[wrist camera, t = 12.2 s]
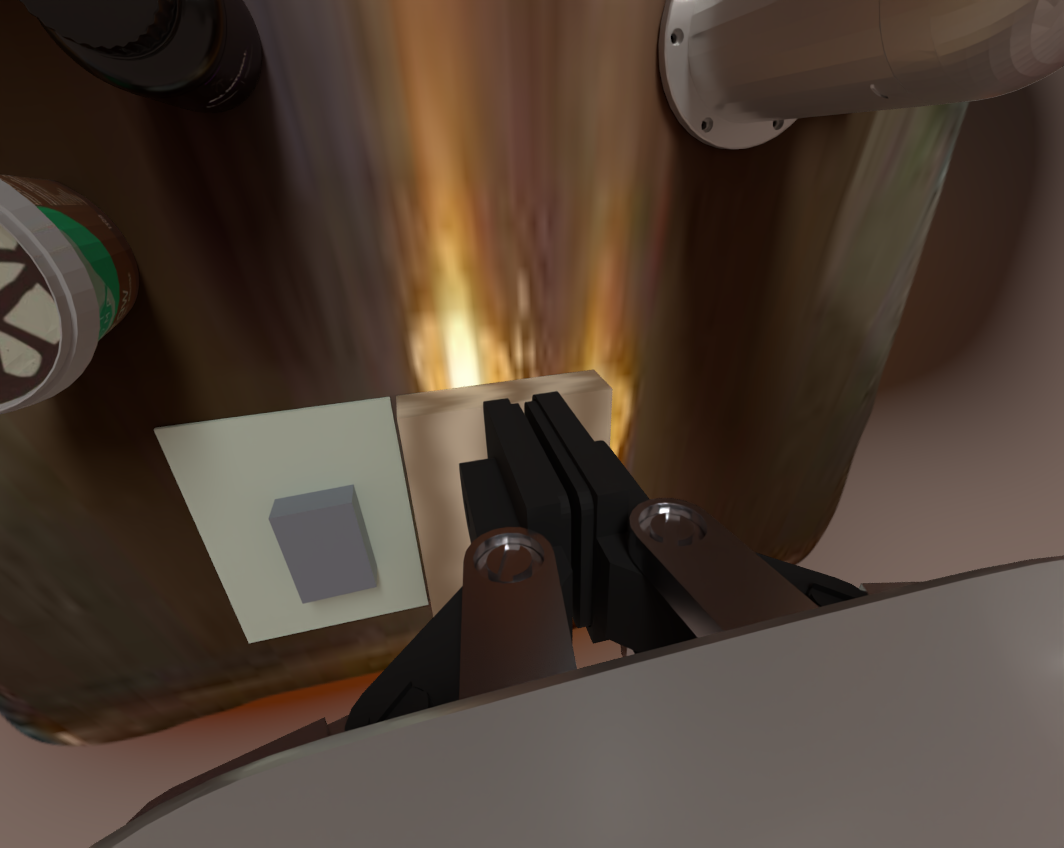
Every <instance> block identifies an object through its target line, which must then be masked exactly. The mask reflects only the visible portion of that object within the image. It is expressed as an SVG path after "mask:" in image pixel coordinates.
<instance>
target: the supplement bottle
mask: <svg viewBox="0 0 1064 848" xmlns="http://www.w3.org/2000/svg"><path fill="white" fill-rule="evenodd" d="M19 1H21V2H22V3H24V5H25V6H26V8H27V10H28V11H29V13H30V14H32V15H34V16H35V17H37V19H38V20H39V22H40V23H41V25H42V26H43V28H44V29H45V30H46V32H47V33H48V34H49V35H50V37H51V38H52V39H53V40H54V41H55V42H56V44H57V45H58V46H59V47H60V48H61V49H62V50H63V51H64V52H65V53H66V54H67V55H68V56H69V57H70V58H72V59H73V60H74V61H75V62H76V63H77V64H79V65H80V66H81V67H83V68H84V69H85V70H86V71H88V72H89V73H91V74H93V75H94V76H96V77H97V78H99V79H101V80H103V81H104V82H106V83H108V84H111V85H113V86H115V87H117V88H119V89H122V90H124V91H127V92H130V93H133V94H136V95H140V96H143V97H146V98H150V99H153V100H157V101H160V102H163V103H167V104H170V105H173V106H177V107H180V108H184V109H187V110H192V111H197V112H204V113H215V112H222V111H226V110H229V109H232V108H234V107H236V106H238V105H239V104H241V103H242V102H243V101H244V100H246V99H247V98H248V96H249V95H250V94H251V93H252V91H253V90H254V88H255V86H256V84H257V82H258V79H259V76H260V72H261V65H262V50H261V43H260V38H259V34H258V31H257V28H256V25H255V23H254V20H253V18H252V16H251V14H250V12H249V10H248V8H247V6H246V5H245V3H244V1H243V0H19Z"/></svg>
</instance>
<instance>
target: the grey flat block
mask: <svg viewBox="0 0 1064 848" xmlns="http://www.w3.org/2000/svg"><path fill="white" fill-rule="evenodd" d="M268 519H269V521H270V524H271V526H272V529H273V531H274V534H275V536H276V539H277V541H278V544H279V546H280V549H281V551H282V554H283V556H284V559H285V561H286V564H287V566H288V569H289V571H290V574H291V576H292V579H293V581H294V584H295V586H296V589H297V591H298V594H299V596H300V599H301V601H302V604H304V603H309V602H313V601H318V600H322V599H326V598H331V597H335V596H340V595H344V594H348V593H353V592H357V591H362V590H366V589H370V588H375V587H377V564H376V561H375V557H374V554H373V550H372V547H371V543H370V540H369V536H368V533H367V529H366V526H365V522H364V519H363V515H362V512H361V508H360V505H359V501H358V498H357V494H356V491H355V487H354V484H353V485H347V486H342V487H337V488H332V489H326V490H321V491H316V492H310V493H305V494H300V495H295V496H289V497H284V498H279V499H275V500H274V503H273V506H272V509H271V512H270V515H269V518H268Z"/></svg>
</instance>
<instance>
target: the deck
mask: <svg viewBox="0 0 1064 848" xmlns="http://www.w3.org/2000/svg"><path fill="white" fill-rule="evenodd" d="M555 391H558V392H559V393H560V395H561V396H562V398H563V399H564V400H565V402H566V403H567V404H568V406H569V407H570V409H571V410H572V411H573V413H574V414H575V415H576V417H577V418H578V420H579V421H580V422H581V424H582V425H583V426H584V428H585V429H586V430H587V432H588V433H589V435H590V436H591V437H592V439H593V440H594V441H599V440H603V441H605V442H606V443H607V445H608V446H609V447H610V430H611V407H612V388H611V387H610V386H609V385H608V384H607V383H606V382H605V381H604V380H603V379H602V378H601V377H600V375H599V374H598V373H597V372H596V371H595V370H588V371H581V372H573V373H565V374H558V375H550V376H543V377H535V378H528V379H520V380H513V381H505V382H497V383H490V384H482V385H475V386H467V387H460V388H452V389H445V390H437V391H429V392H422V393H414V394H407V395H399V396H396V400H397V421H398V426H399V432H400V437H401V443H402V448H403V453H404V459H405V464H406V470H407V475H408V481H409V486H410V492H411V497H412V503H413V508H414V514H415V519H416V524H417V530H418V535H419V541H420V546H421V552H422V557H423V563H424V568H425V574H426V579H427V585H428V590H429V595H430V601H431V606H432V612H433V617H434V616H435V615H436V614H437V613H438V612H439V611H440V610H441V609H442V607H443V606H444V605H445V604H446V603H447V602H448V601H449V600H450V599H451V598H452V597H453V596H454V595H455V593H456V592H457V591H458V590H459V589H460V588H461V587H462V586H463V560H464V556H465V552H466V550H467V549H468V547H469V546H470V544H471V542H470V537H469V532H468V527H467V522H466V516H465V510H464V503H463V496H462V488H461V480H460V472H459V463H463V462H469V461H475V460H482V459H488V457H487V446H486V435H485V424H484V413H483V402H484V401H490V400H497V399H504V398H508V399H509V400H510V402H511V404H515V403H519V405H520V407H521V409H522V410H523V412H524V403H525V402H529V401H532V396H533V395H534V394H540V393H547V392H555Z"/></svg>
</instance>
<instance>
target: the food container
mask: <svg viewBox="0 0 1064 848" xmlns="http://www.w3.org/2000/svg"><path fill="white" fill-rule="evenodd" d="M138 289H139V272H138V268H137V263H136V260H135V257H134V255H133V252H132V250H131V248H130V246H129V244H128V242H127V241H126V239H125V237H124V236H123V234H122V233H121V232H120V230H119V229H118V228H117V226H116V225H115V224H114V223H113V222H112V221H111V220H110V219H109V218H108V216H107V215H106V214H105V213H104V212H103V211H102V210H100V209H99V208H98V207H97V206H95V205H94V204H93V203H92V202H90V201H89V200H88V199H86V198H85V197H83V196H82V195H80V194H79V193H77V192H76V191H74V190H72V189H71V188H69V187H67V186H65V185H63V184H61V183H59V182H57V181H54V180H45V179H36V178H27V177H18V176H9V175H1V174H0V414H3V413H7V412H12V411H15V410H18V409H21V408H24V407H27V406H30V405H33V404H36V403H38V402H41V401H43V400H46V399H48V398H51V397H53V396H55V395H56V394H58V393H59V392H61V391H62V390H64V389H66V388H67V387H69V386H70V385H71V384H72V383H73V382H74V381H75V380H76V379H77V378H78V377H79V376H80V375H81V374H82V373H83V372H84V370H85V369H86V367H87V366H88V364H89V363H90V361H91V359H92V357H93V354H94V352H95V349H96V347H97V343H98V341H99V340H100V339H101V338H102V337H103V336H104V335H106V334H107V333H108V332H109V331H110V330H111V329H113V328H114V327H115V326H116V325H117V324H118V323H119V322H121V321H122V320H123V319H124V317H125V316H126V315H127V314H128V312H129V311H130V310H131V308H132V307H133V305H134V303H135V301H136V298H137V295H138Z"/></svg>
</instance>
